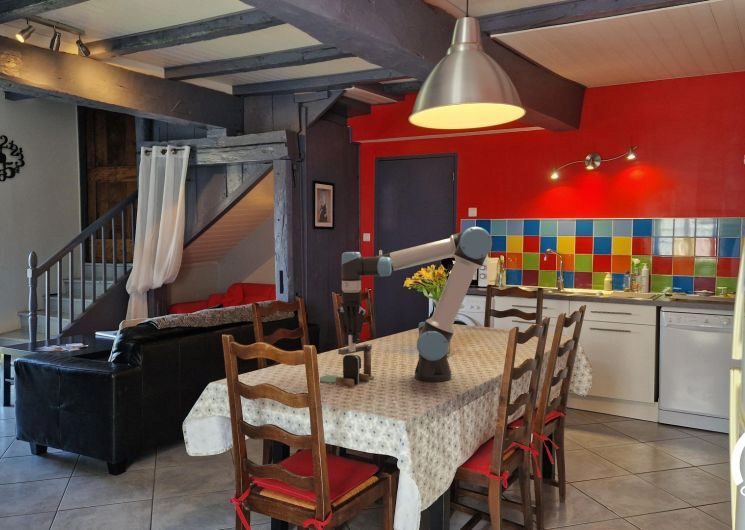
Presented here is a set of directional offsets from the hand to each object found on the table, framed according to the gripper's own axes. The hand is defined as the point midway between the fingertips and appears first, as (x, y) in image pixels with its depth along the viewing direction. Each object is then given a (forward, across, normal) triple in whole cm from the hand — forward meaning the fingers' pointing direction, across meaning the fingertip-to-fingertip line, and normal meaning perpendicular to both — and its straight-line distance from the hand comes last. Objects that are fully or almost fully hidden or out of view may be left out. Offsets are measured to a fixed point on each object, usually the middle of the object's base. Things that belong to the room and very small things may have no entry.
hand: (352, 351), depth 251 cm
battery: (+13, 0, 0) cm, 13 cm away
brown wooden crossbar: (+1, -1, +4) cm, 5 cm away
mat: (+13, -11, 0) cm, 17 cm away
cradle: (+13, 0, +4) cm, 14 cm away
